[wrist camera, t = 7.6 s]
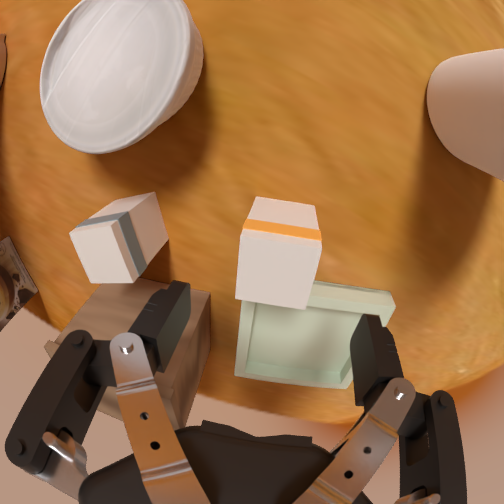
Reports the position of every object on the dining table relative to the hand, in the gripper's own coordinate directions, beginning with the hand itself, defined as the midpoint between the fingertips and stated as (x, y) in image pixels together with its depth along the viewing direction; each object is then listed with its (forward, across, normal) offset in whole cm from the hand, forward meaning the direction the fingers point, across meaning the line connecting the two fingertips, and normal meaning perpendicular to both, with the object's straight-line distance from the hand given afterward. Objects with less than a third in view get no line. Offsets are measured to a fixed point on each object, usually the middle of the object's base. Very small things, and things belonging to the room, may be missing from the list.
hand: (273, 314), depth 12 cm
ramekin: (+9, +11, -11) cm, 18 cm away
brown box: (+8, +10, +11) cm, 17 cm away
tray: (+9, -4, +10) cm, 13 cm away
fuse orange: (+8, 0, 0) cm, 9 cm away
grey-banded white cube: (+8, +11, +1) cm, 14 cm away
